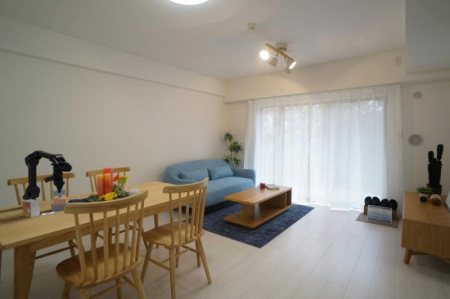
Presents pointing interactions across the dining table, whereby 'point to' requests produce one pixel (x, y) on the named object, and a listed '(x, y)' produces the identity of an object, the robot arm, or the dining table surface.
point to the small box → (31, 208)
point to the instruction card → (48, 213)
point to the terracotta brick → (59, 201)
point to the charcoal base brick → (58, 207)
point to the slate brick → (55, 193)
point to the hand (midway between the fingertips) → (58, 192)
